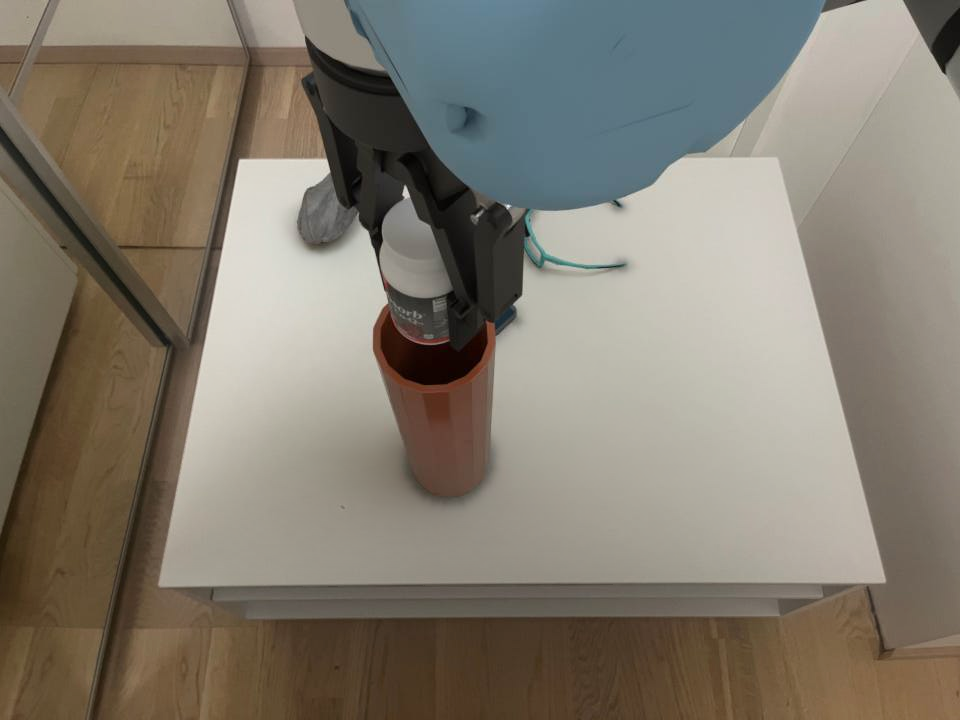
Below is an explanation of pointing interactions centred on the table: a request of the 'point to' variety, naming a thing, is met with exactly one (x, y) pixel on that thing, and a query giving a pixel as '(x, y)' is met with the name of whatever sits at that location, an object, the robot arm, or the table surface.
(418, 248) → the pill bottle
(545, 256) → the sunglasses
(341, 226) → the grey rock
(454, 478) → the tall brown vase
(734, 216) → the table surface
